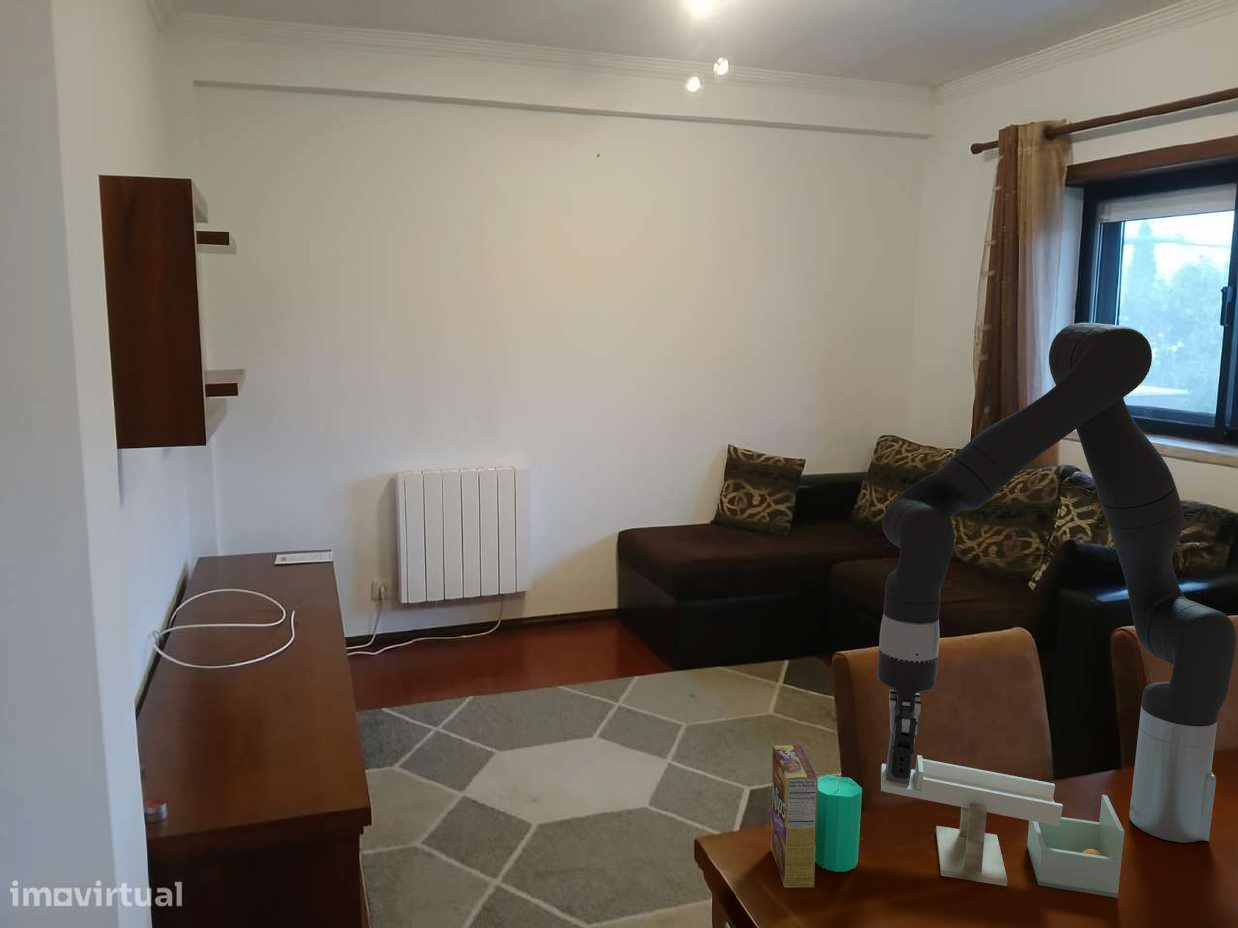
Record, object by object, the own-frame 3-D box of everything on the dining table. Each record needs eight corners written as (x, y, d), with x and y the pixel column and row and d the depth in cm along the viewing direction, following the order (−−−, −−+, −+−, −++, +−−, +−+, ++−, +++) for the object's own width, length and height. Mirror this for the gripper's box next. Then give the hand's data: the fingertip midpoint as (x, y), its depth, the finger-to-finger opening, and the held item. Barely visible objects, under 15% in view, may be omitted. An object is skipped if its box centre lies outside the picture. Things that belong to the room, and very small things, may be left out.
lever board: (1049, 806, 124) (1058, 752, 123) (1059, 832, 118) (1068, 777, 116) (880, 773, 130) (887, 721, 128) (880, 797, 123) (887, 743, 122)
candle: (858, 874, 120) (864, 788, 118) (811, 868, 122) (816, 783, 120) (856, 848, 126) (861, 766, 124) (811, 843, 127) (816, 761, 125)
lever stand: (996, 839, 129) (1001, 775, 127) (1007, 886, 118) (1013, 816, 117) (935, 830, 131) (940, 767, 129) (941, 875, 120) (946, 806, 119)
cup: (1100, 857, 125) (1107, 795, 123) (1117, 897, 116) (1124, 831, 115) (1027, 845, 127) (1032, 785, 126) (1038, 884, 119) (1044, 819, 117)
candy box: (767, 849, 126) (771, 743, 123) (798, 848, 126) (803, 743, 124) (781, 889, 117) (786, 776, 115) (814, 889, 117) (820, 776, 115)
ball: (1072, 853, 122) (1090, 869, 122) (1077, 866, 119) (1095, 882, 119) (1090, 839, 121) (1107, 856, 121) (1095, 852, 119) (1113, 869, 118)
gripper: (942, 671, 115) (931, 799, 118) (935, 634, 128) (926, 750, 131) (879, 663, 117) (870, 790, 120) (879, 628, 130) (871, 742, 133)
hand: (899, 768), depth 125 cm, fingers closed on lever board, 3 cm apart
